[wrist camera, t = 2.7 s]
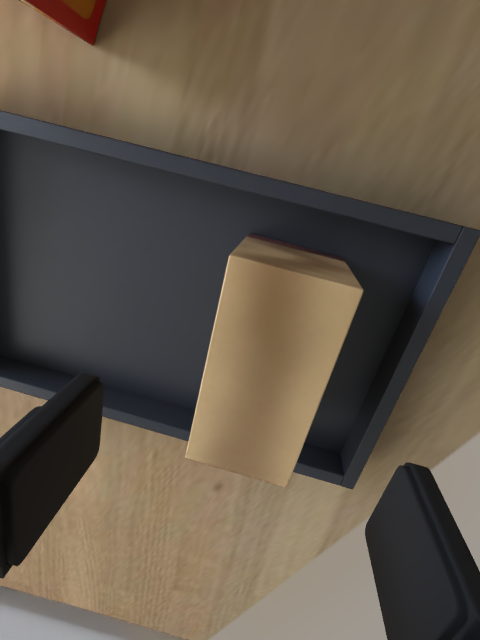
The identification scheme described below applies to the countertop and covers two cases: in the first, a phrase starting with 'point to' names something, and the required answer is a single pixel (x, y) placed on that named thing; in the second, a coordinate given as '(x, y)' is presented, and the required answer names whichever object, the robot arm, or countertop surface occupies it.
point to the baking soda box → (72, 15)
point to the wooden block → (270, 356)
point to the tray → (196, 281)
